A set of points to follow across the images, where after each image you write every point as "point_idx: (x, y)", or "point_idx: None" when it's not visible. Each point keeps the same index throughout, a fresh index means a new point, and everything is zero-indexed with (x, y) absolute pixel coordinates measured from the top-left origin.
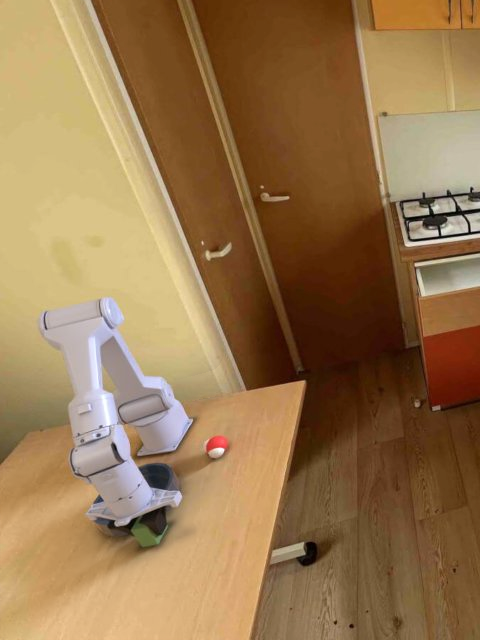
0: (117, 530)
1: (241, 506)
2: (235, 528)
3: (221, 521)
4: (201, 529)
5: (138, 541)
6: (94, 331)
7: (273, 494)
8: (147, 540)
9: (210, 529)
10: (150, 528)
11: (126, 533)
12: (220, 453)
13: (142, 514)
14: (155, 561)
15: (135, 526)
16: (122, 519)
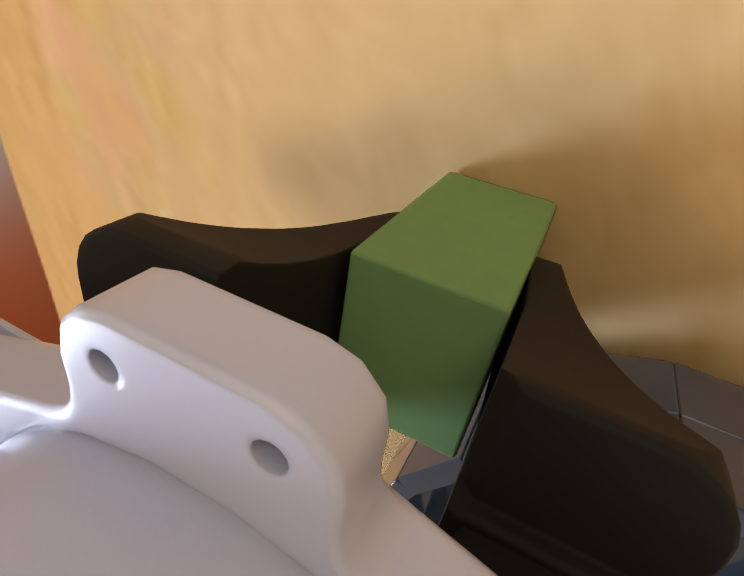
0: (732, 431)
1: (115, 206)
2: (88, 80)
3: (164, 162)
4: (238, 159)
5: (542, 228)
6: None
7: (28, 200)
8: (477, 205)
9: (195, 135)
10: (357, 242)
11: (675, 374)
12: None
13: (41, 342)
14: (439, 25)
15: (466, 329)
16: (170, 448)
